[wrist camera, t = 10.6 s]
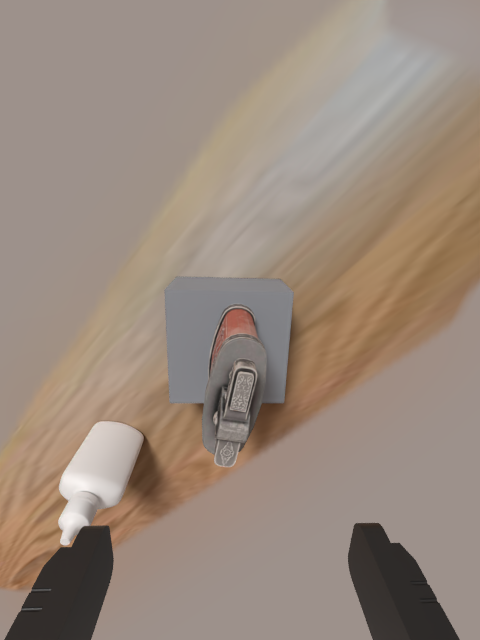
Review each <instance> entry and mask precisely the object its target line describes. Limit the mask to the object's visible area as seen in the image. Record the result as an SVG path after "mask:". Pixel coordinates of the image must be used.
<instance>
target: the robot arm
mask: <svg viewBox="0 0 480 640" xmlns="http://www.w3.org/2000/svg"><path fill="white" fill-rule="evenodd" d="M348 564H349V570H350V574H351V578H352V581H353V584H354V587H355V590H356V592H357V595H358V598H359V601H360V604H361V607H362V610H363V613H364V615H365V618H366V621H367V624H368V627H369V630H370V633H371V636H372V638H373V640H459V638H458V636H457V634H456V632H455V630H454V629H453V627H452V625H451V623H450V622H449V620H448V618H447V616H446V614H445V612H444V611H443V609H442V607H441V605H440V603H438V602H437V598H436V596H435V594H434V593H433V591H432V589H431V588H430V585H428V584H427V580H426V578H425V577H424V575H423V573H422V571H421V569H420V568H419V566H418V564H417V562H416V560H415V559H414V558H413V557H412V556H411V555H410V554H409V553H408V552H407V551H406V550H405V548H403V546H402V545H401V544H400V543H390V541H389V539H388V537H387V535H386V533H385V531H384V529H383V528H382V526H381V525H380V524H379V523H356V524H355V525H354V529H353V534H352V538H351V543H350V548H349V553H348ZM112 570H113V551H112V543H111V536H110V529H109V526H83V527H82V528H81V529H80V531H79V533H78V535H77V537H76V539H75V541H74V543H73V545H72V547H61V548H60V549H59V550H58V551H57V552H56V553H55V554H54V555H53V557H52V558H51V559H50V560H49V561H48V562H47V563H46V564H45V565H44V567H43V569H42V570H41V572H40V574H39V576H38V578H37V580H36V582H35V583H34V585H33V587H32V591H31V593H29V595H28V597H27V598H26V600H25V602H24V604H23V606H22V609H21V612H19V613H18V615H17V617H16V619H15V621H14V623H13V625H12V626H11V628H10V630H9V632H8V634H7V636H6V638H5V640H91V638H92V635H93V632H94V629H95V625H96V623H97V620H98V617H99V613H100V611H101V607H102V605H103V602H104V598H105V595H106V592H107V589H108V586H109V583H110V580H111V576H112Z"/></svg>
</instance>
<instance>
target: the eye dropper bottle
mask: <svg viewBox="0 0 480 640" xmlns="http://www.w3.org/2000/svg"><path fill="white" fill-rule="evenodd" d="M143 440H144V436H143V434H142V433H141V432H140V431H138V430H136V429H135V428H133V427H131V426H129V425H126V424H123V423H119V422H112V421H102V422H98V423H96V424H95V425H94V426H93V428H92V429H91V431H90V432H89V434H88V435H87V437H86V438H85V440H84V442H83V443H82V445H81V446H80V448H79V449H78V451H77V452H76V454H75V455H74V457H73V459H72V460H71V462H70V463H69V465H68V466H67V468H66V470H65V471H64V473H63V475H62V478H61V481H60V485H59V491H60V493H61V494H62V496H63V497H64V498H66V499H67V500H68V501H69V502H68V504H67V505H66V507H65V509H64V511H63V512H62V514H61V516H60V518H59V521H58V523H59V527H60V528H61V530H63V533H62V537H61V540H60V543H61V544H62V545H68V544H69V543H70V542H71V541H72V539H73V538H74V536H75V535H78V533H79V531H80V529H81V528H82V527H83V526H90V525H91V523H92V521H93V518H94V516H95V514H96V512H97V509H104V508H109V507H112V506H115V505H117V504H118V503H119V502H120V500H121V498H122V496H123V494H124V491H125V489H126V486H127V484H128V481H129V478H130V476H131V473H132V471H133V468H134V465H135V463H136V460H137V457H138V455H139V452H140V449H141V447H142V444H143Z"/></svg>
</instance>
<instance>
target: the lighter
mask: <svg viewBox="0 0 480 640" xmlns="http://www.w3.org/2000/svg"><path fill="white" fill-rule="evenodd" d="M266 362H267V356H266V351H265V348H264V345H263V344H262V342H261V341H260V340H259V339H258V336H257V332H256V329H255V316H254V313H253V312H252V310H251V309H250V308H249V307H247V306H246V305H243V304H232V305H229V306H228V307H226V308H225V309H224V311H223V312H222V315H221V317H220V320H219V322H218V324H217V327H216V329H215V333H214V337H213V340H212V344H211V348H210V357H209V365H208V383H207V387H206V391H205V399H204V408H203V416H202V438H203V444H204V447H205V448H206V449H207V450H208V451H209V452H211V453H212V454H215V457H214V462H215V464H216V465H218V466H221V467H231V466H233V465H234V464H235V462H236V459H237V455H238V452H240V451H241V450H242V448H243V447H244V445H245V443H246V441H247V439H248V437H249V435H250V433H251V431H252V429H253V427H254V424H255V422H256V419H257V416H258V413H259V410H260V407H261V404H262V398H263V393H264V387H265V382H266Z"/></svg>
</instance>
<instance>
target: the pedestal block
mask: <svg viewBox="0 0 480 640" xmlns="http://www.w3.org/2000/svg"><path fill="white" fill-rule="evenodd" d="M293 294H294V292H293V291H292V290H291V289H290V288H289V287H288V286H287V285H286V284H285V283H284V282H283V281H282V280H281V279H256V278H213V277H176V278H175V279H174V280H173V281H172V282H171V283H170V284H169V285H168V286H167V288H166V289H165V310H166V332H167V354H168V376H169V398H170V403H204V399H205V391H206V387H207V383H208V365H209V357H210V348H211V344H212V340H213V337H214V333H215V329H216V327H217V324H218V322H219V320H220V317H221V315H222V312H223V311H224V309H225V308H226V307H228V306H229V305H232V304H243V305H246V306H247V307H249V308H250V309H251V310H252V312H253V313H254V316H255V329H256V332H257V336H258V339H259V340H260V341H261V342H262V344H263V345H264V348H265V351H266V356H267V362H266V382H265V387H264V393H263V398H262V403H284V398H285V386H286V375H287V363H288V352H289V340H290V329H291V317H292V306H293Z"/></svg>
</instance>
